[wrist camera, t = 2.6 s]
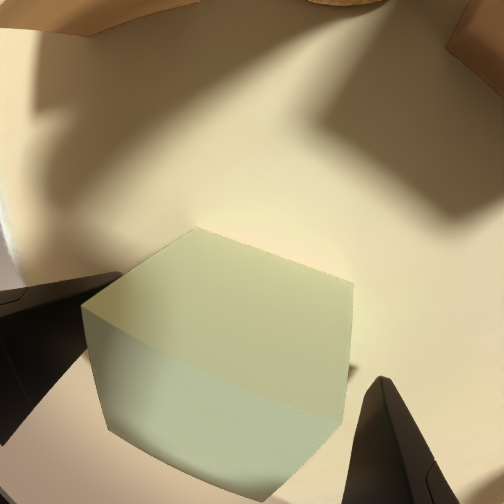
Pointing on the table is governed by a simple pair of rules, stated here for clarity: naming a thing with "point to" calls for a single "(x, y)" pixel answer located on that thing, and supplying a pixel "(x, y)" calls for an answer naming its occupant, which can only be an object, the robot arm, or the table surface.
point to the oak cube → (78, 14)
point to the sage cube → (222, 360)
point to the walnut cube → (481, 41)
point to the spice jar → (343, 2)
